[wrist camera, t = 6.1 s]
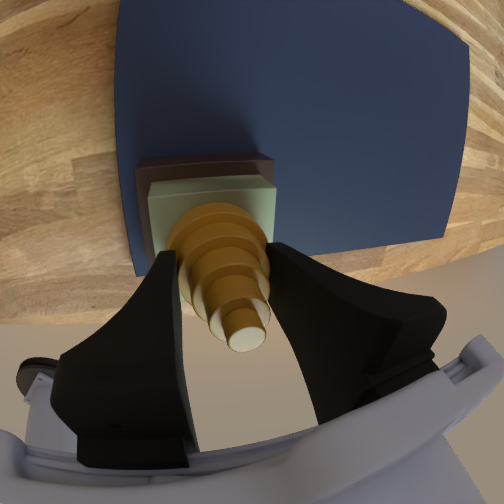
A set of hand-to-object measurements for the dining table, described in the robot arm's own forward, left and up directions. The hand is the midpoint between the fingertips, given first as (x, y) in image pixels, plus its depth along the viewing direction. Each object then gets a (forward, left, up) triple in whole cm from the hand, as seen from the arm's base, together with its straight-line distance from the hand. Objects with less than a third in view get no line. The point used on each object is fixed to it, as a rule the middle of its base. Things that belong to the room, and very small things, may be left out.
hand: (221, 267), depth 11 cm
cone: (0, 0, -2) cm, 2 cm away
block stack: (0, 0, -7) cm, 7 cm away
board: (+12, -2, -8) cm, 14 cm away
